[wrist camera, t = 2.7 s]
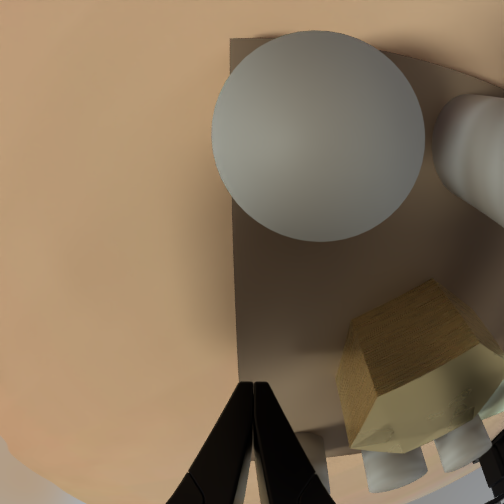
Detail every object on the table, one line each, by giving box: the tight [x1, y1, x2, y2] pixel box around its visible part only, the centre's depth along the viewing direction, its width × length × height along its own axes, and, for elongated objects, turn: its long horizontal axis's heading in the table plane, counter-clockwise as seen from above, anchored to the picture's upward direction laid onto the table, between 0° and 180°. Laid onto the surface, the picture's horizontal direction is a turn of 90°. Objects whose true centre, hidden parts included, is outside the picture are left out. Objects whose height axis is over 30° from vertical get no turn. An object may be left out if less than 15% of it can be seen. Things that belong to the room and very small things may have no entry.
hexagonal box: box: [335, 278, 504, 454], centre depth 8 cm, size 5×6×3 cm
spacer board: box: [212, 31, 504, 495], centre depth 9 cm, size 20×18×4 cm
